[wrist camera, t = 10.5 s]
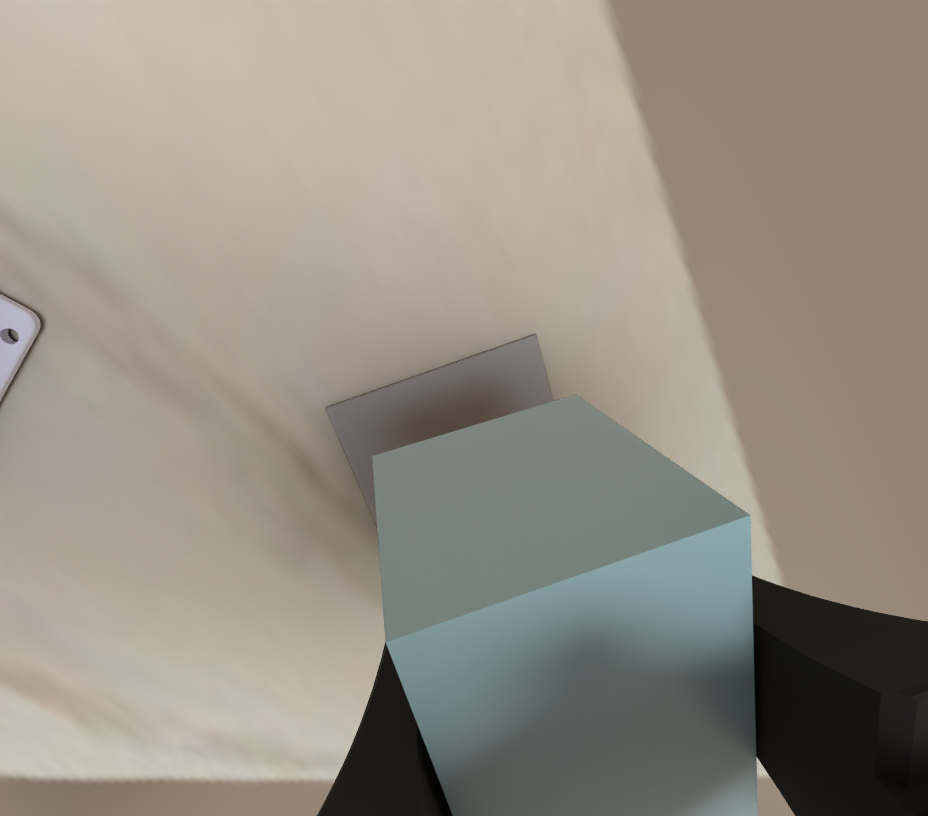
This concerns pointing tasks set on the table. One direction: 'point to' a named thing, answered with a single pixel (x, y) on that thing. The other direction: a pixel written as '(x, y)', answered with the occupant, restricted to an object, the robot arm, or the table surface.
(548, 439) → the light blue upright block
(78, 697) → the table surface
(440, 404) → the tape square
